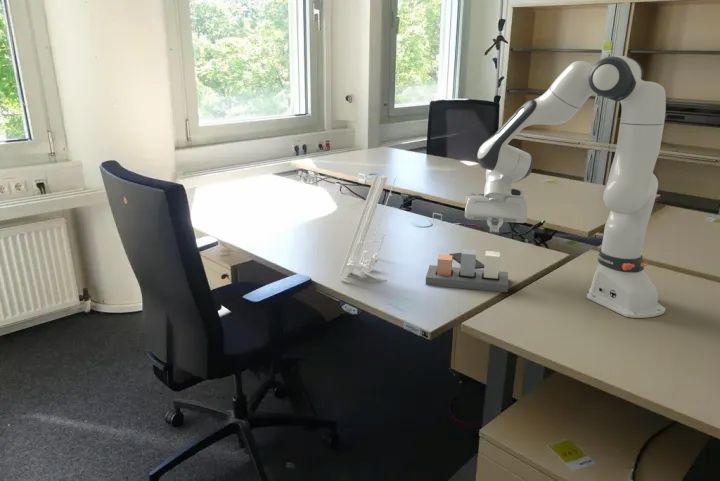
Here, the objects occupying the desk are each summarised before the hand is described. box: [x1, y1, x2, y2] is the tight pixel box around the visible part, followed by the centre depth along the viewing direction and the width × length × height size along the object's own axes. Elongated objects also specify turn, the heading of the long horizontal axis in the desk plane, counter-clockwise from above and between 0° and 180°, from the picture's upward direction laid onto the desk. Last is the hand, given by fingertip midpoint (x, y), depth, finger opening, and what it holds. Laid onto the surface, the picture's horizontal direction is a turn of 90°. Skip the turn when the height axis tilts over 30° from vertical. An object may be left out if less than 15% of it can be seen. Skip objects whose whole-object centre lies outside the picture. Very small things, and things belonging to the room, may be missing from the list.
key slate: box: [459, 248, 477, 276], centre depth 174 cm, size 4×4×8 cm
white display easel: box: [339, 175, 397, 281], centre depth 180 cm, size 24×14×35 cm, turn 148°
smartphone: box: [449, 251, 485, 269], centre depth 194 cm, size 7×1×15 cm
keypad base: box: [425, 264, 509, 293], centre depth 175 cm, size 26×11×2 cm, turn 76°
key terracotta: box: [436, 254, 454, 276], centre depth 176 cm, size 4×4×8 cm
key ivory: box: [483, 250, 501, 279], centre depth 172 cm, size 4×4×8 cm
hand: (494, 231), depth 174 cm, fingers closed
